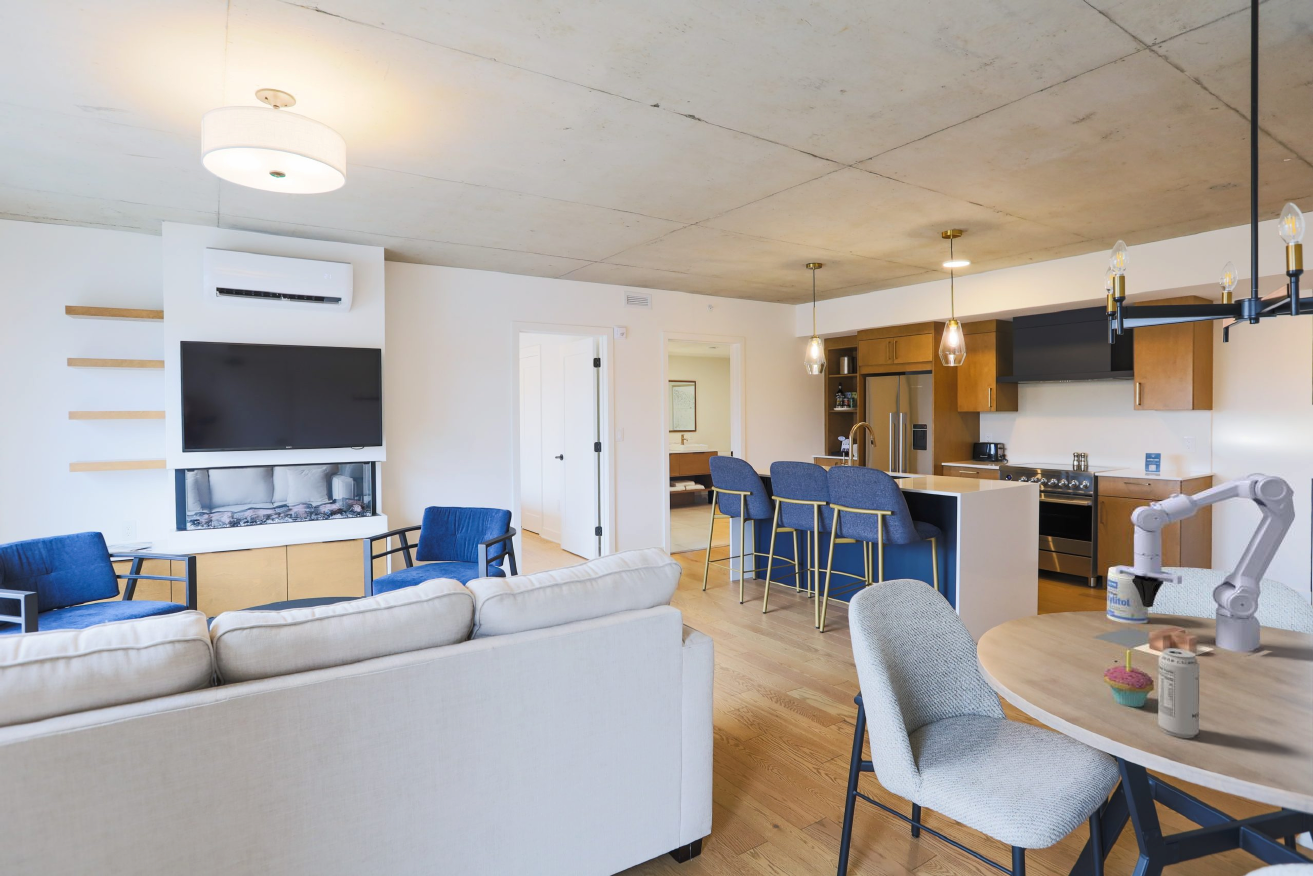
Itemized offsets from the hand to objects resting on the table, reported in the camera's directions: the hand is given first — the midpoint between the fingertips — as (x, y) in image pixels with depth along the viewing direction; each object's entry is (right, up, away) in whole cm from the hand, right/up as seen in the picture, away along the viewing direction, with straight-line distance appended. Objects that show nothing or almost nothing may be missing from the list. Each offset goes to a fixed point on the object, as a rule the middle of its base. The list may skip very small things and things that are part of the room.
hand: (1147, 606), depth 176 cm
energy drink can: (-29, -12, -49) cm, 58 cm away
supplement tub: (+7, -9, +18) cm, 21 cm away
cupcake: (-29, -11, -35) cm, 47 cm away
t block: (+2, -9, -8) cm, 12 cm away
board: (-1, -9, -3) cm, 10 cm away
